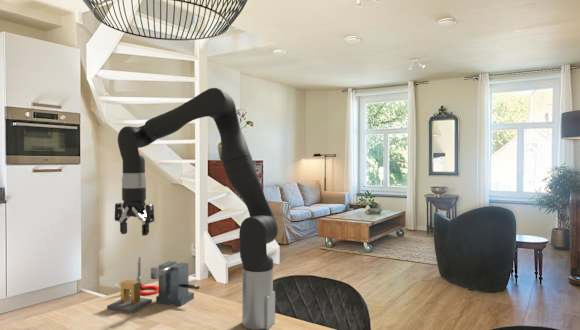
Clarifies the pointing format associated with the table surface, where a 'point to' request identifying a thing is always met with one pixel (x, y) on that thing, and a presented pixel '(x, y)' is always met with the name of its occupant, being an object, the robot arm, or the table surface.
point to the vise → (173, 283)
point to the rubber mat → (129, 305)
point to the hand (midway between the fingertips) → (134, 234)
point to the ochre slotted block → (135, 291)
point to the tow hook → (143, 284)
